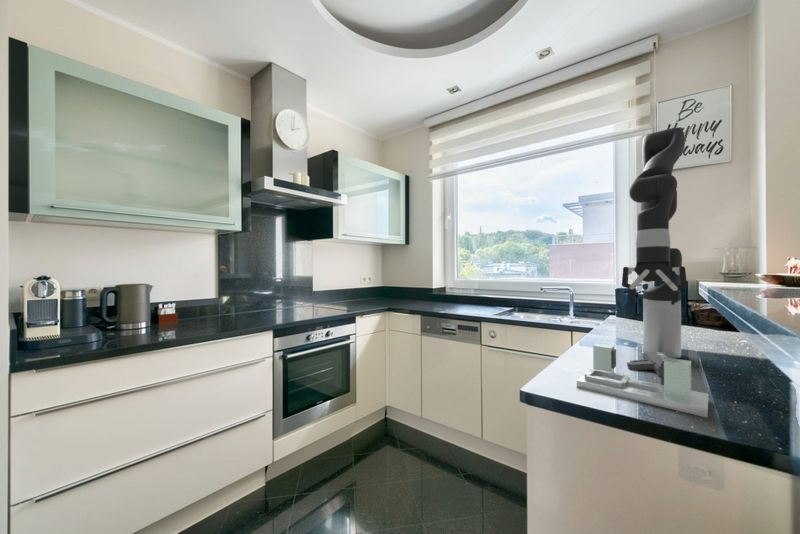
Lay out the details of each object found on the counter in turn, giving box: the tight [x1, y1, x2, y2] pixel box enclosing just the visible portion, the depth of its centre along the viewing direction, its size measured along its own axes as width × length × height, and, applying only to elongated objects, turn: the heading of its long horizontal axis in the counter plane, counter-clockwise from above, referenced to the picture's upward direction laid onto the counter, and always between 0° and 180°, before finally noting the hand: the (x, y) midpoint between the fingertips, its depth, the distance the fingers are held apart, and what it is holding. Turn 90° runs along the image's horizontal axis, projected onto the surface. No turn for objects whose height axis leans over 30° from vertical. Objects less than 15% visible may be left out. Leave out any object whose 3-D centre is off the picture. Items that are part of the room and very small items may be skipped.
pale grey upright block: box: [592, 342, 617, 373], centre depth 84 cm, size 4×4×7 cm
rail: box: [576, 357, 709, 418], centre depth 70 cm, size 10×22×8 cm, turn 45°
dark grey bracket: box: [626, 352, 668, 377], centre depth 87 cm, size 4×16×10 cm
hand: (652, 303), depth 90 cm, fingers open, 8 cm apart
